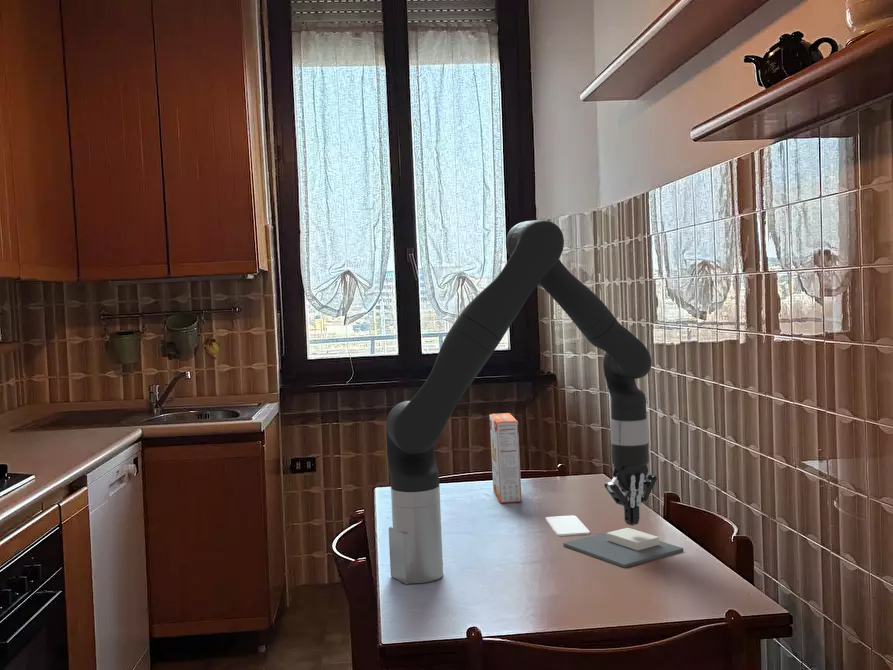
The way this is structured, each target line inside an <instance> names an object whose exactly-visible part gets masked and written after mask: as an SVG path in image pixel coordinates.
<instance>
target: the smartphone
mask: <svg viewBox="0 0 893 670" xmlns="http://www.w3.org/2000/svg"><path fill="white" fill-rule="evenodd" d="M545 520H546V522H547V523H548V525H549V526H550V528H552V530H553V532H554V534H556V536H558V537H569V536H584V535H590V533H591V532H590V530H589V529H588V527H587V526H585V524H584V523H583V522H582V521H581V520H580V519H579V518H578V517H577V516H576V515H559V516H547V517H546V516H545Z"/></svg>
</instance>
